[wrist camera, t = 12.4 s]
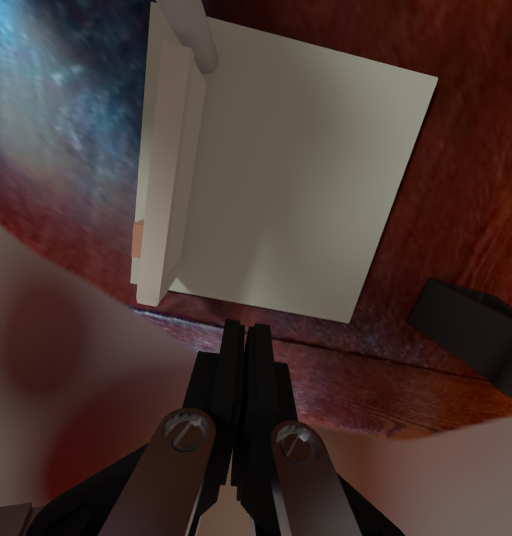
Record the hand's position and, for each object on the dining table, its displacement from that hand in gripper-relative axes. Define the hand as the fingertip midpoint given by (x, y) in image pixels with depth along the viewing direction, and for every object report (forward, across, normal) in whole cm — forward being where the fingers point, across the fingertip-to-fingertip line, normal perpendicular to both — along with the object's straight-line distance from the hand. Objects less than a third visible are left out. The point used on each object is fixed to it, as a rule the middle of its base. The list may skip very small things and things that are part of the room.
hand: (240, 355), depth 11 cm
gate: (+21, +7, -4) cm, 22 cm away
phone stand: (+22, -26, +5) cm, 35 cm away
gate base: (+22, -1, -5) cm, 23 cm away
